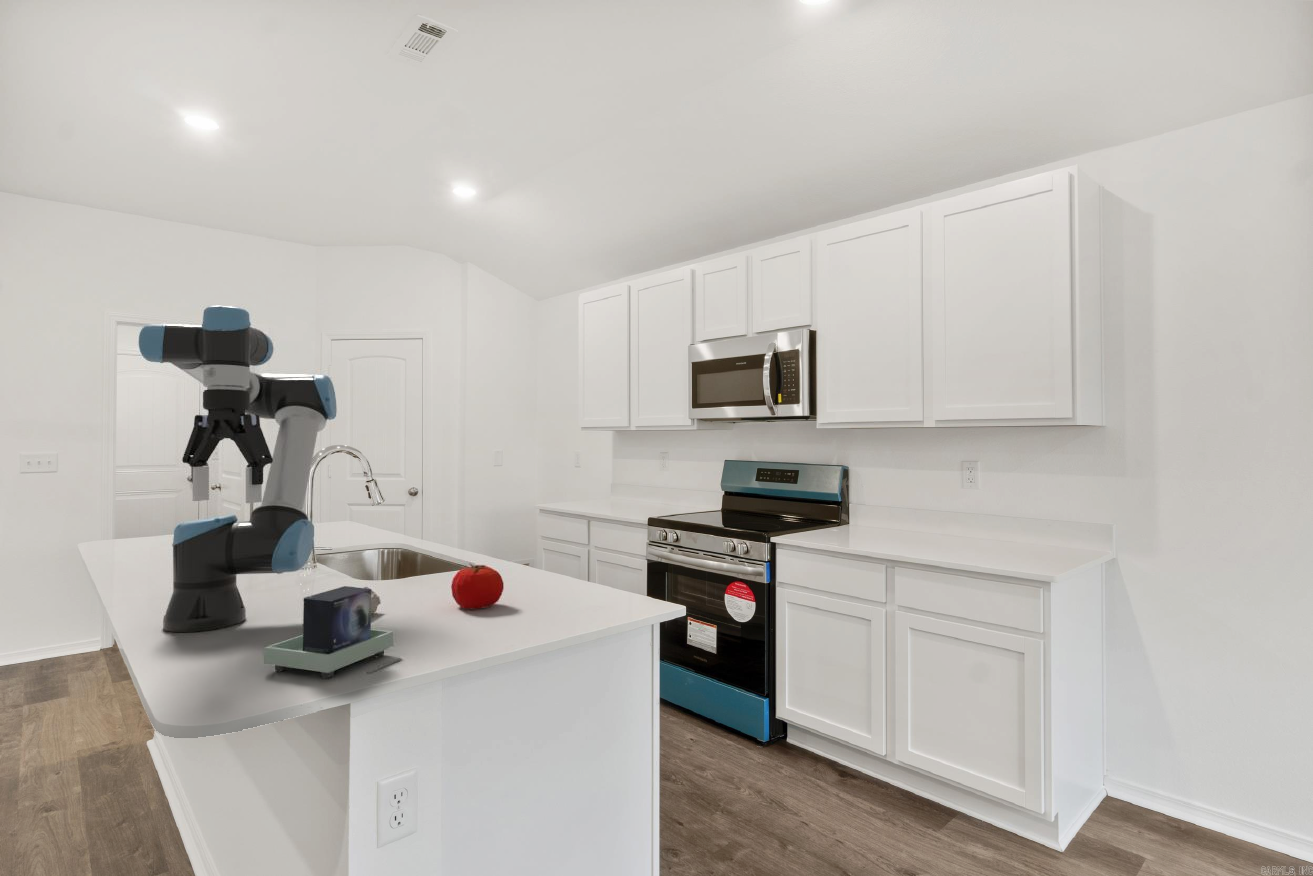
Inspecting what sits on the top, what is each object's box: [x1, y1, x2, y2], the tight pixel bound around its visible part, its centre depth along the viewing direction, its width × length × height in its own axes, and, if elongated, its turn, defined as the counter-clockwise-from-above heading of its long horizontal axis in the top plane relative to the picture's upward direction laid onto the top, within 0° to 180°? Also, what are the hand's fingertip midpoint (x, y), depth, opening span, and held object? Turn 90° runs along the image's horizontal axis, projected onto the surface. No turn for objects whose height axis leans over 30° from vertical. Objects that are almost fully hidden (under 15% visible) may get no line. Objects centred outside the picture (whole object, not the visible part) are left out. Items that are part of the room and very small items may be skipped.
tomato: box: [450, 562, 505, 610], centre depth 164 cm, size 11×13×10 cm
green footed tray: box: [263, 628, 394, 680], centre depth 123 cm, size 14×15×4 cm
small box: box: [302, 585, 372, 654], centre depth 122 cm, size 11×6×10 cm, turn 165°
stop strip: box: [366, 657, 403, 674], centre depth 121 cm, size 1×8×1 cm, turn 161°
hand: (226, 501), depth 129 cm, fingers open, 13 cm apart
